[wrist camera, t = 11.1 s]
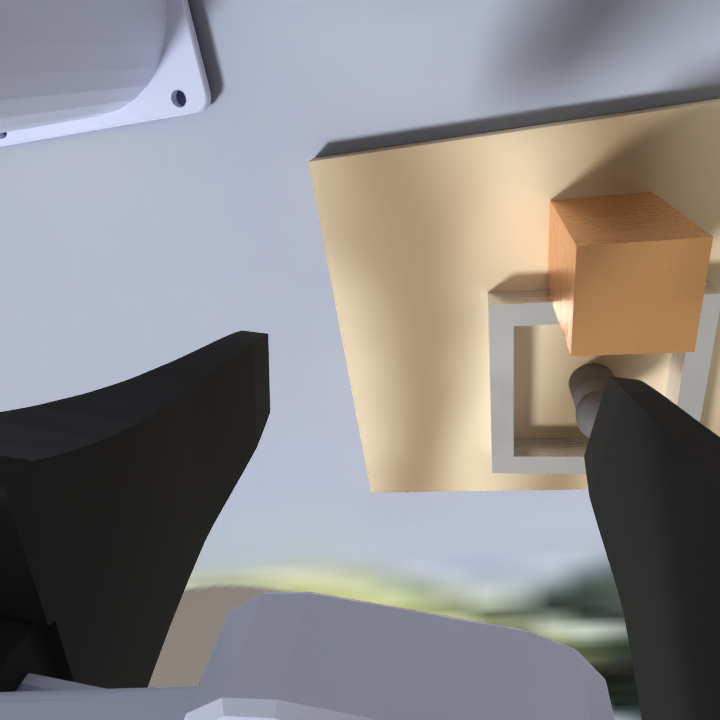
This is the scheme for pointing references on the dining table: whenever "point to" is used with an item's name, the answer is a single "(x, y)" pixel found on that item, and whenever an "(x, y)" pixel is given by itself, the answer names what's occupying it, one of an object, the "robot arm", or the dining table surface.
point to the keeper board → (490, 283)
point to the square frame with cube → (608, 311)
